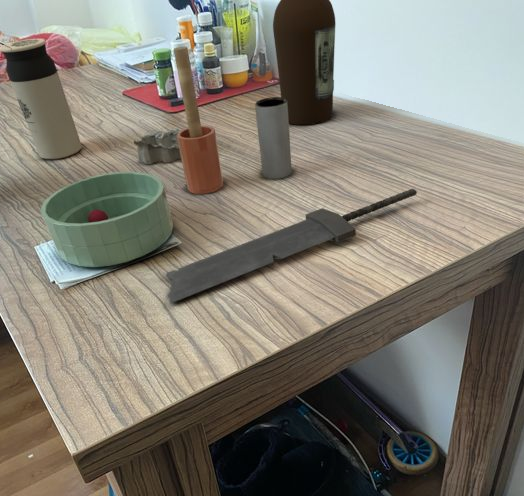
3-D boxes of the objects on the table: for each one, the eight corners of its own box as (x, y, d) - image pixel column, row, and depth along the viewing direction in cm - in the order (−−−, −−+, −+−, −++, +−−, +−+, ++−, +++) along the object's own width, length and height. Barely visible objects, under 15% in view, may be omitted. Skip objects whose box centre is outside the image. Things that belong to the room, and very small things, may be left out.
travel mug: (78, 141, 100) (43, 35, 88) (85, 153, 95) (49, 42, 83) (37, 151, 98) (-5, 44, 86) (42, 164, 93) (-2, 51, 81)
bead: (89, 234, 68) (83, 216, 67) (94, 225, 70) (87, 207, 69) (108, 232, 68) (102, 214, 67) (112, 223, 70) (106, 205, 68)
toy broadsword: (154, 283, 60) (149, 268, 58) (396, 190, 69) (396, 175, 68) (175, 313, 55) (170, 297, 53) (433, 208, 64) (434, 192, 63)
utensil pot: (186, 195, 76) (174, 141, 70) (189, 181, 80) (178, 128, 75) (222, 191, 75) (213, 136, 70) (223, 177, 80) (215, 123, 74)
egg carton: (136, 166, 87) (129, 141, 84) (147, 149, 93) (141, 126, 90) (197, 161, 86) (192, 136, 83) (204, 145, 91) (200, 121, 89)
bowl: (43, 276, 62) (23, 231, 58) (75, 218, 74) (60, 178, 70) (166, 263, 61) (154, 217, 58) (179, 207, 73) (170, 166, 69)
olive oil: (269, 124, 96) (255, -42, 80) (296, 106, 103) (287, -51, 86) (320, 128, 92) (316, -47, 75) (345, 110, 98) (345, -56, 82)
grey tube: (294, 167, 80) (289, 96, 73) (288, 179, 76) (283, 106, 70) (265, 167, 81) (259, 97, 74) (259, 179, 77) (251, 107, 71)
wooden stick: (198, 188, 76) (172, 51, 64) (199, 179, 79) (174, 46, 67) (210, 187, 76) (186, 50, 64) (211, 178, 79) (188, 44, 67)
